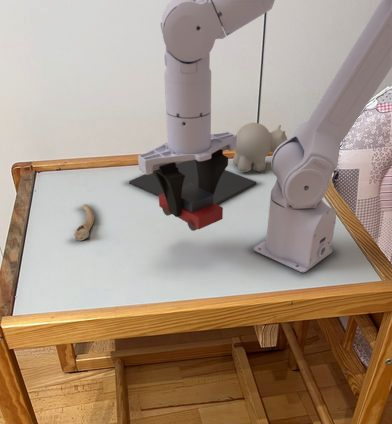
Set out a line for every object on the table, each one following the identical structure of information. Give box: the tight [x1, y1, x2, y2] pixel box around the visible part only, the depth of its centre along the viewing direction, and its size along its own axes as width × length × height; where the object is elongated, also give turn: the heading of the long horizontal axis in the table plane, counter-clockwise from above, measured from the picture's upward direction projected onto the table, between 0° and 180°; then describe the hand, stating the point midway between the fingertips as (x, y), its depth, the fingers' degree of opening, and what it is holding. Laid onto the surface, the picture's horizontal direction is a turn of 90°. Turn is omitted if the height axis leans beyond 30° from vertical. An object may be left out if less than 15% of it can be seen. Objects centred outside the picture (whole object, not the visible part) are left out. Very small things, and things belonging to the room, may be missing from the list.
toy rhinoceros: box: [232, 122, 288, 173], centre depth 101 cm, size 7×12×8 cm, turn 99°
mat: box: [128, 160, 257, 205], centre depth 98 cm, size 18×16×1 cm
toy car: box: [158, 183, 224, 232], centre depth 75 cm, size 9×4×4 cm
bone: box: [73, 203, 95, 242], centre depth 87 cm, size 3×11×2 cm, turn 3°
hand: (190, 208), depth 75 cm, fingers closed on toy car, 5 cm apart
